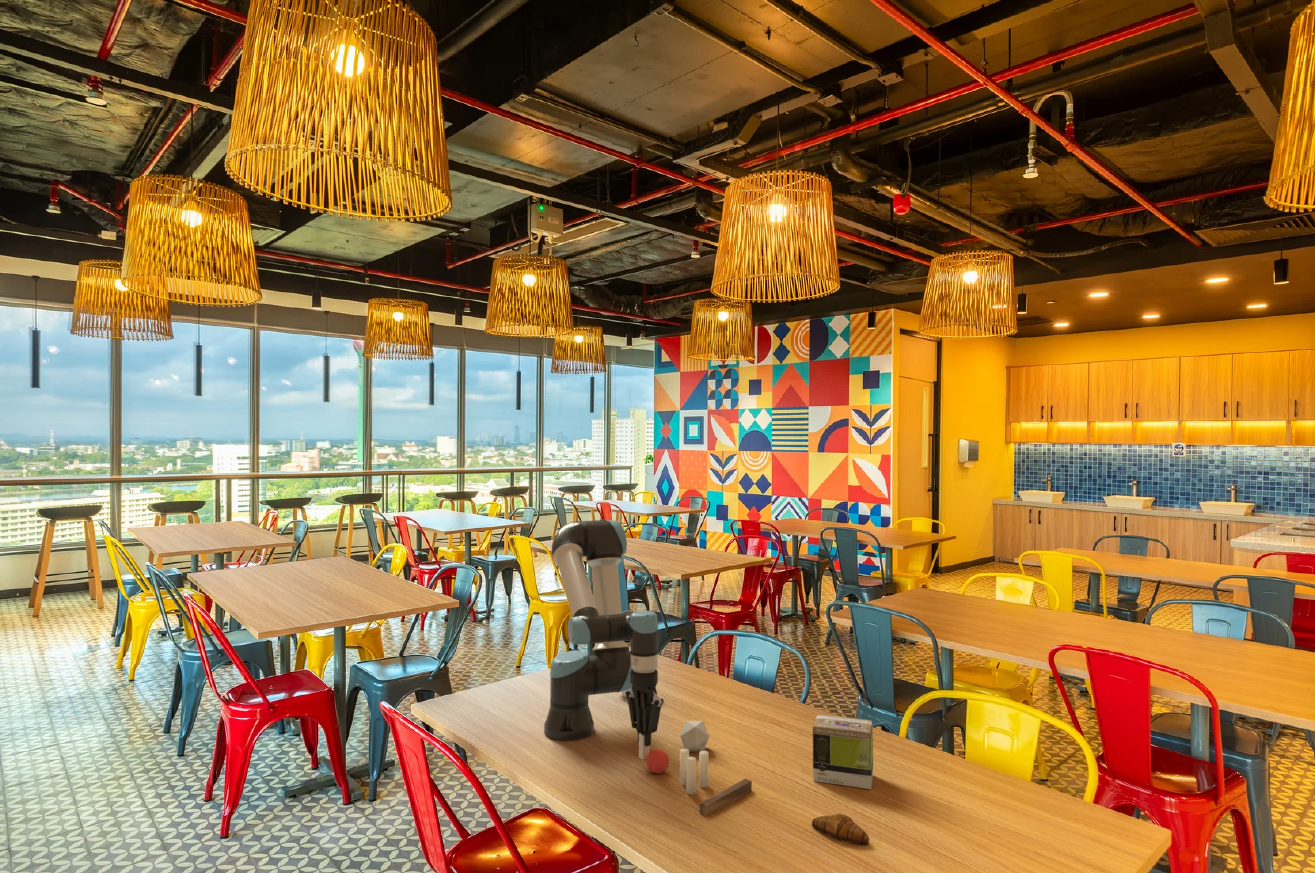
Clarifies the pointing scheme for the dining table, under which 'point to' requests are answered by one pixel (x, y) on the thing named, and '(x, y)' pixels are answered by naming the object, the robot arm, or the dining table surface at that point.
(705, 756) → the back pin left
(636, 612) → the robot arm
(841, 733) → the tea box
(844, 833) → the croissant
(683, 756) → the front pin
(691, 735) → the die
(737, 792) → the back rail
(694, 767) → the back pin right
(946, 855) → the dining table surface
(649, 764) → the ball
